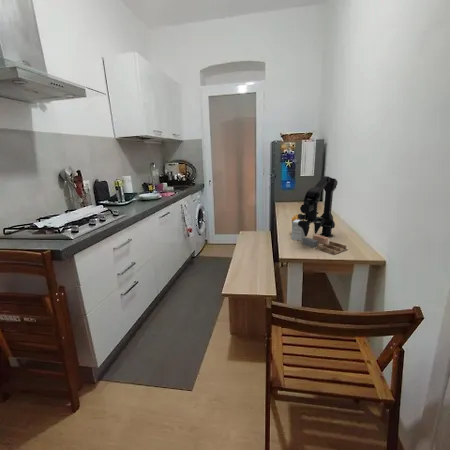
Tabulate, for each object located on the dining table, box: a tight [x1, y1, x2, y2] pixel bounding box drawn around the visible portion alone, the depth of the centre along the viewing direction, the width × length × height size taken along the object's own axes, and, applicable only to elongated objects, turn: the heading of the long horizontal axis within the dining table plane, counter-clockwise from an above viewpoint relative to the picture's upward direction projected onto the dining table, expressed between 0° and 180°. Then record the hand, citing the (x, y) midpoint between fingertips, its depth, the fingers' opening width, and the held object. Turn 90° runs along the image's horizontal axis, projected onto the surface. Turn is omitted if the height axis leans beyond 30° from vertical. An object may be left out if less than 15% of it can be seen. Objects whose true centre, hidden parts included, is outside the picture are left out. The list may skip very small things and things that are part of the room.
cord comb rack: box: [314, 240, 349, 256], centre depth 155 cm, size 13×13×2 cm
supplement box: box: [291, 219, 307, 242], centre depth 175 cm, size 7×7×13 cm
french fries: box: [291, 214, 300, 223], centre depth 184 cm, size 9×8×15 cm
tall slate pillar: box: [302, 236, 319, 249], centre depth 163 cm, size 9×4×4 cm, turn 34°
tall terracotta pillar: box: [312, 233, 329, 245], centre depth 169 cm, size 9×4×4 cm, turn 31°
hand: (310, 234), depth 162 cm, fingers open, 9 cm apart
